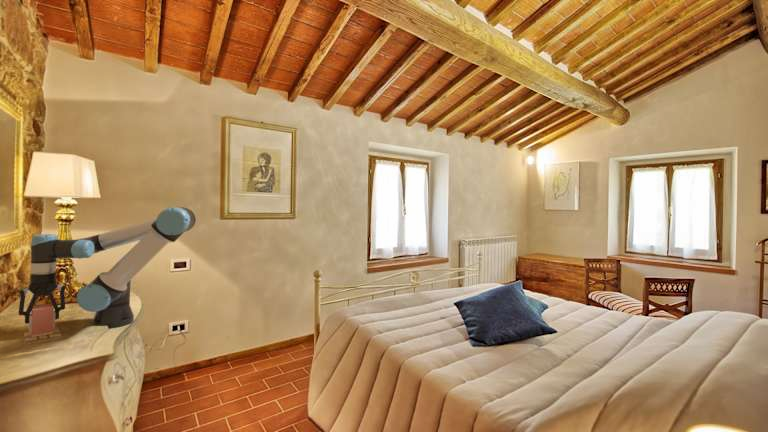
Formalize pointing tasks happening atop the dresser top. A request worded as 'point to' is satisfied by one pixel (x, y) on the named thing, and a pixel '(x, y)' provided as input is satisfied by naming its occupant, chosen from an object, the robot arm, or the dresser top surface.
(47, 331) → the sanding block
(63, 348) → the dresser top surface
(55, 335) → the board
